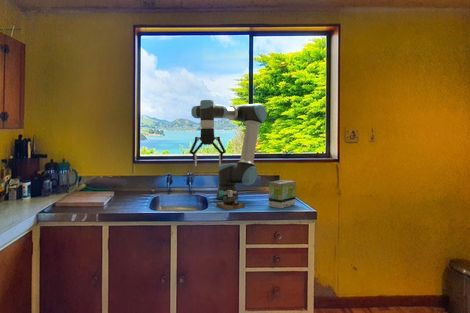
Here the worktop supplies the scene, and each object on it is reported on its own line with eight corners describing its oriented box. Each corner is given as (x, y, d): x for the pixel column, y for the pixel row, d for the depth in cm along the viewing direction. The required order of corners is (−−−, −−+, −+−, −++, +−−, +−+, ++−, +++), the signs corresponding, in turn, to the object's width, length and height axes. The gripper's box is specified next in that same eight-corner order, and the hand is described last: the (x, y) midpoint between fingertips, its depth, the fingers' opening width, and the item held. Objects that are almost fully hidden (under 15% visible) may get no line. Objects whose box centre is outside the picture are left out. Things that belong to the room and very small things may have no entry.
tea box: (282, 209, 202) (282, 183, 201) (268, 206, 208) (268, 182, 207) (296, 204, 213) (296, 180, 212) (282, 202, 220) (282, 179, 219)
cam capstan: (228, 201, 212) (228, 187, 211) (237, 203, 207) (237, 188, 207) (215, 205, 202) (215, 190, 201) (224, 206, 198) (224, 191, 197)
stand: (232, 204, 216) (232, 197, 216) (244, 207, 206) (244, 200, 206) (216, 206, 209) (216, 199, 208) (228, 210, 199) (227, 202, 199)
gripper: (229, 127, 198) (230, 165, 200) (186, 128, 199) (186, 165, 201) (229, 127, 191) (229, 166, 192) (183, 128, 191) (184, 166, 193)
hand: (208, 166), depth 196 cm, fingers open, 13 cm apart
